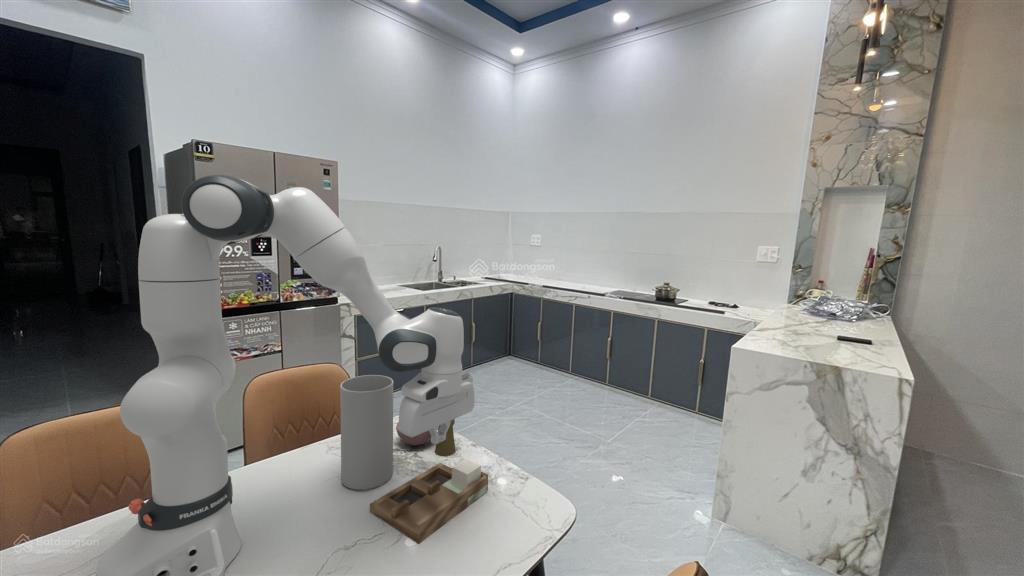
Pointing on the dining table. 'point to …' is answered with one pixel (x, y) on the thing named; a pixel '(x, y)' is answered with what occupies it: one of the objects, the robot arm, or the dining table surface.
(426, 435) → the mortar and pestle
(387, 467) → the cylinder vase
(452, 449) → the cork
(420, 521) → the box
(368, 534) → the dining table surface
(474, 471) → the block
